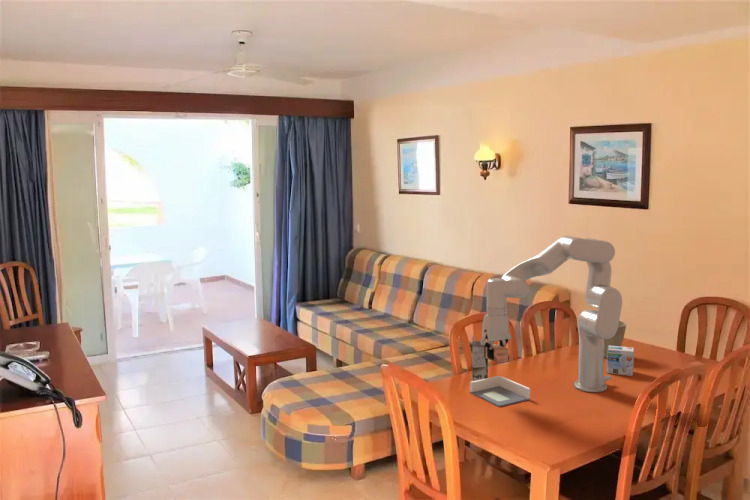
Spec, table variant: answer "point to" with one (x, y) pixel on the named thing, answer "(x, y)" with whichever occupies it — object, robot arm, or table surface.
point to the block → (498, 353)
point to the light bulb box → (620, 360)
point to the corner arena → (499, 391)
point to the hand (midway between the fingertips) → (495, 357)
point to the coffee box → (479, 362)
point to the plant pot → (615, 338)
